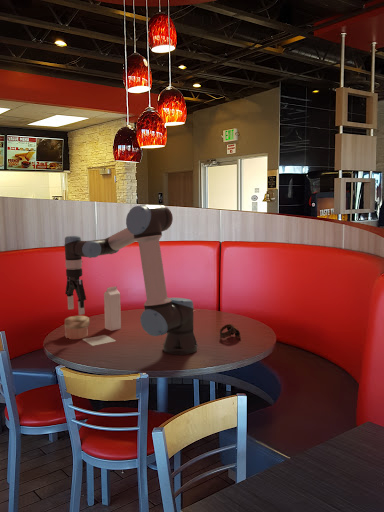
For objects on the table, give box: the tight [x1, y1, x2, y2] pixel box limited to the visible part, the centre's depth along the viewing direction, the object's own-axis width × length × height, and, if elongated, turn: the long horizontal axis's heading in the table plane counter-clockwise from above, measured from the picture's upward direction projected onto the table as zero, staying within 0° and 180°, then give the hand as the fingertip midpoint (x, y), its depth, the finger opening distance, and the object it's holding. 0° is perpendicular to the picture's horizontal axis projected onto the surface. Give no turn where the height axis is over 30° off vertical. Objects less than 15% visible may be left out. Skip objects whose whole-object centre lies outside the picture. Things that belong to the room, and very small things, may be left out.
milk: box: [103, 285, 122, 332], centre depth 240 cm, size 6×6×22 cm
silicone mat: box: [81, 334, 117, 347], centre depth 222 cm, size 12×12×1 cm
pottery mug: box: [219, 323, 242, 341], centre depth 225 cm, size 12×9×8 cm
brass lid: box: [64, 315, 90, 329], centre depth 228 cm, size 12×12×4 cm
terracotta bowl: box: [64, 326, 89, 340], centre depth 229 cm, size 10×10×6 cm
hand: (76, 311), depth 227 cm, fingers open, 13 cm apart
